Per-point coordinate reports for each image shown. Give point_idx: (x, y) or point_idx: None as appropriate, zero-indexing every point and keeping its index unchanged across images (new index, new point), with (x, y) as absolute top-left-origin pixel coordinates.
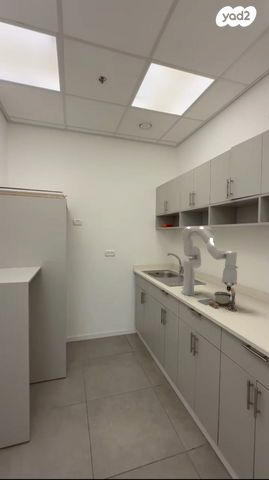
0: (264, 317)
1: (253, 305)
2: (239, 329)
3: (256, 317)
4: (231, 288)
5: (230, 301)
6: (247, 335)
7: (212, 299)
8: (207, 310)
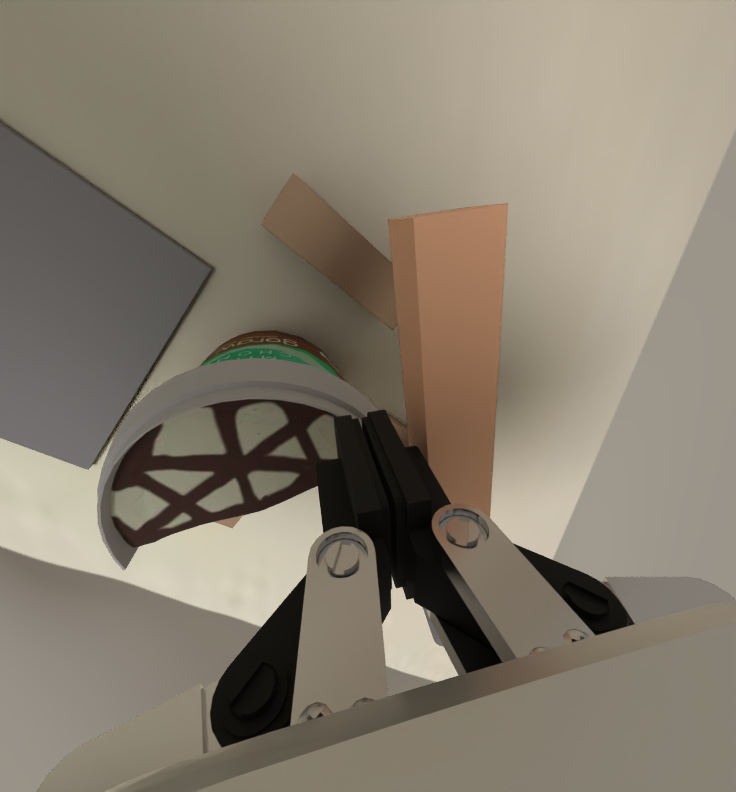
0: (601, 443)
1: (638, 95)
2: (427, 655)
3: (546, 476)
4: (437, 362)
5: (359, 302)
6: (454, 672)
7: (21, 166)
8: (193, 569)
